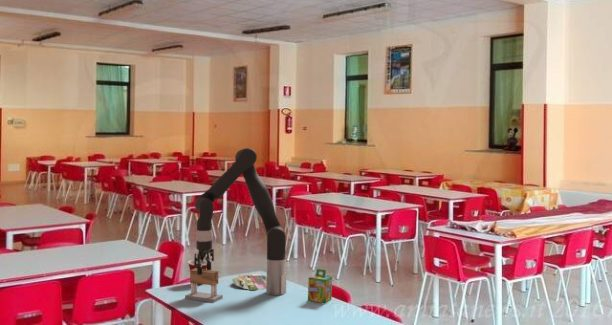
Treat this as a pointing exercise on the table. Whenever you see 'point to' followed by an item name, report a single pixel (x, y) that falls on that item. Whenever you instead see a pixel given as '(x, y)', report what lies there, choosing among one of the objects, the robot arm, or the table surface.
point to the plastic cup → (191, 266)
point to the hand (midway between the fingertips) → (204, 272)
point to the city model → (250, 281)
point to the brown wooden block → (204, 277)
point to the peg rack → (203, 294)
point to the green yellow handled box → (320, 287)
